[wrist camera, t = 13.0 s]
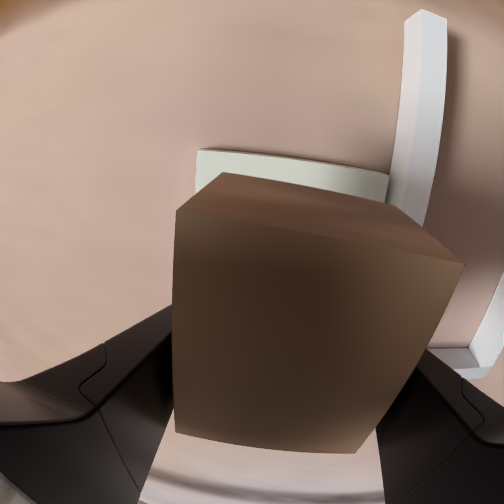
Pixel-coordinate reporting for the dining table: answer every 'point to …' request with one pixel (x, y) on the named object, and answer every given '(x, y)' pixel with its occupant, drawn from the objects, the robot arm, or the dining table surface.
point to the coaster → (291, 172)
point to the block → (298, 313)
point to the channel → (433, 169)
